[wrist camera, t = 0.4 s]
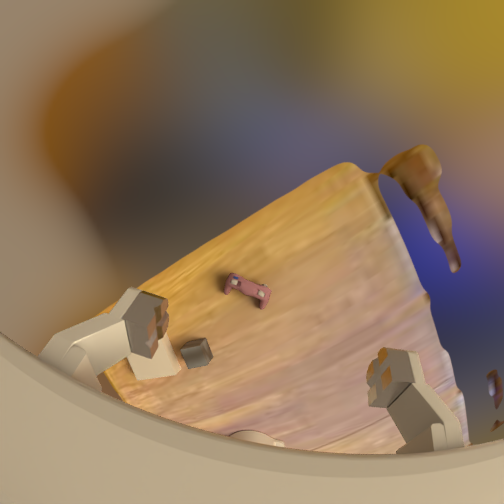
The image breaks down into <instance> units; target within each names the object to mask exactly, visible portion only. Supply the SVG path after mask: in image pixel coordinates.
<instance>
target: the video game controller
mask: <svg viewBox="0 0 504 504" xmlns="http://www.w3.org/2000/svg"><path fill="white" fill-rule="evenodd" d="M262 285H263V286H262ZM262 285H257V284H255V283H253V282H251V281H248V280H246V279H244V278H243V277H241V276H239V275H237V274H235V273H230V275H229V277H228V278H227V280H226V283H225V288H224V293H225V295H227V294H228V293H229V292H230V290H231V289H232V288H234V289H237V290H239V291H241V292H242V293H243V294H245V295H248V296H253V297H256V298H258V299H260V305H259V307H260V309H261V310H262V309H264V308H265V306H266V305H267V303H268V301H269V297H270V294H271V290H270V289H269V288H267V287H268V286H267V285H266V284H262Z"/></svg>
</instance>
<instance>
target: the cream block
mask: <svg viewBox="0 0 504 504" xmlns="http://www.w3.org/2000/svg"><path fill="white" fill-rule="evenodd" d="M158 346H159V347H158V348H157V350H156V352H155V354H154V356H153V358H152V359H149V358H146V357H143V356H140V355H137V354H134V353H132V352H131V354H130V355H129V356H127V358H128V361H129V363H130V365H131V367H132V370H133V372H134V374H135V376H136V378H137V380H144V379H152V378H159V377H166V376H172V375H176V374H177V373H178V372H179V371H180V369H181V367H180V365H179V362H178V360H177V358H176V355H175V353H174V350H173V348H172V346H171V343H170V341H169V338H168V335H167V333H165V335H164V337H163V338H162V339H160V340H158Z"/></svg>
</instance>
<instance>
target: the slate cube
mask: <svg viewBox="0 0 504 504" xmlns="http://www.w3.org/2000/svg"><path fill="white" fill-rule="evenodd" d="M180 351H181V353H182V355H183V358H184V360H185V363H186V365H187V367H188V369H191V368H196V367H201V366H206V365H208V364H209V362H210V361H211V359H212V358H213V355H212V352H211V350H210V347H209V345H208V342H207V339H206V338H204V339H199V340H195V341H191V342H187V343H186V344H185V345H184V346H183V347H182V348H181V349H180Z"/></svg>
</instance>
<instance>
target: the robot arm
mask: <svg viewBox="0 0 504 504" xmlns="http://www.w3.org/2000/svg"><path fill="white" fill-rule="evenodd" d="M167 308H168V299H166V298H164V297H161V296H158V295H155V294H152V293H149V292H146V291H142V290H139V289H136V288H133V287H130V288H128V289H127V290H126V292H125V293H124V295H123V296H122V297H121V298H120V300H119V301H118V302H117V303H116V305H115V306H114V307H113V309H112V310H111V311H110V313H109V314H107V313H104V314H101V315H99V316H97V317H94V318H92V319H90V320H87V321H85V322H82V323H80V324H78V325H75V326H73V327H71V328H68V329H66V330H63V331H61V332H59V333H56V334H55V335H54V336H53V337H52V339H51V340H50V341H49V342H48V344H47V345H46V346H45V348H44V349H43V350H42V352H41V353H40V354H39V355H38V357H36V356H35V355H33V354H32V353H30V352H29V351H27V350H25V349H24V348H23V347H21V346H20V345H18V344H17V343H15V342H14V341H13V340H11V339H10V338H8V337H7V336H6V335H4V334H3V333H1V332H0V504H504V439H500V440H496V441H492V442H488V443H483V444H478V445H473V446H467V447H464V442H463V436H462V431H461V426H460V421H459V420H458V419H457V418H456V416H455V415H454V414H453V413H452V412H451V410H450V409H449V408H448V407H447V406H446V404H445V403H444V402H443V401H442V400H441V398H440V397H439V396H438V395H437V394H436V392H435V391H434V390H433V389H432V388H431V387H430V385H429V384H426V383H425V379H424V375H423V371H422V367H421V363H420V359H419V356H418V353H417V352H416V351H408V350H401V349H393V348H386V347H383V348H382V349H380V351H379V352H378V358H376V359H374V360H372V362H371V364H370V365H369V367H368V370H367V376H366V379H367V384H368V385H369V386H370V390H369V391H368V403H369V406H370V407H380V408H387V410H388V412H389V414H390V416H391V417H392V419H393V421H394V422H395V424H396V426H397V428H398V429H399V431H400V433H401V434H402V436H403V438H404V440H405V441H406V444H405V445H404V446H402V447H401V448H399V449H398V450H397V451H396V454H346V453H330V452H318V451H308V450H300V449H292V448H285V443H284V442H283V441H281V440H277V439H273V438H271V437H269V436H268V435H266V434H263V433H261V432H257V431H240V432H236V433H234V434H232V435H231V436H230V437H228V436H224V435H220V434H216V433H212V432H209V431H205V430H202V429H198V428H195V427H191V426H188V425H185V424H182V423H178V422H175V421H172V420H169V419H166V418H164V417H161V416H158V415H155V414H152V413H150V412H147V411H145V410H142V409H139V408H137V407H134V406H132V405H130V404H127V403H125V402H122V401H120V400H118V399H115V398H113V397H111V396H109V395H107V394H104V393H102V392H101V391H102V388H101V385H100V383H99V381H98V379H97V377H96V376H97V375H98V374H100V373H102V372H103V371H105V370H106V369H108V368H110V367H111V366H113V365H114V364H116V363H118V362H119V361H121V360H122V359H124V358H125V357H127V356H129V355H130V354H131V352H132V353H134V354H137V355H140V356H143V357H146V358H149V359H152V358H153V356H154V354H155V352H156V350H157V348H158V347H159V346H158V340H160V339H162V338H163V337H164V335H165V333H166V330H167V327H168V322H169V314H168V313H167V312H166V310H167Z"/></svg>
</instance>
